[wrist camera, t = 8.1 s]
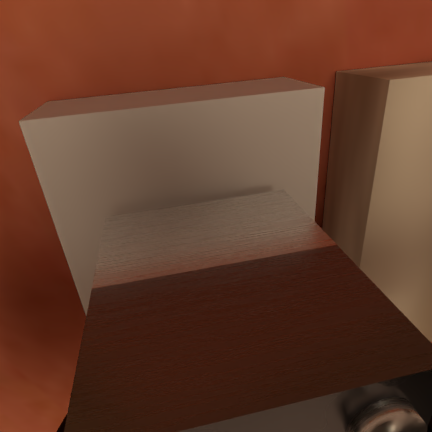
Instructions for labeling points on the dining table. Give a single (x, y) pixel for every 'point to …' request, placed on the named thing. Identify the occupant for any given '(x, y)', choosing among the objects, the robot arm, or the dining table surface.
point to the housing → (242, 329)
